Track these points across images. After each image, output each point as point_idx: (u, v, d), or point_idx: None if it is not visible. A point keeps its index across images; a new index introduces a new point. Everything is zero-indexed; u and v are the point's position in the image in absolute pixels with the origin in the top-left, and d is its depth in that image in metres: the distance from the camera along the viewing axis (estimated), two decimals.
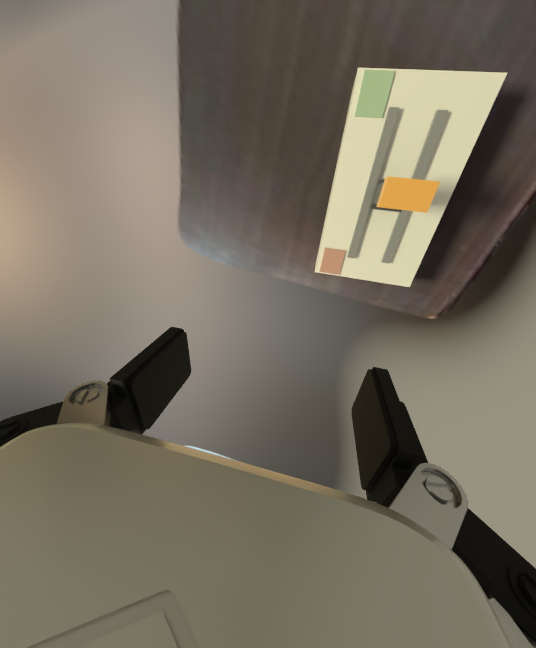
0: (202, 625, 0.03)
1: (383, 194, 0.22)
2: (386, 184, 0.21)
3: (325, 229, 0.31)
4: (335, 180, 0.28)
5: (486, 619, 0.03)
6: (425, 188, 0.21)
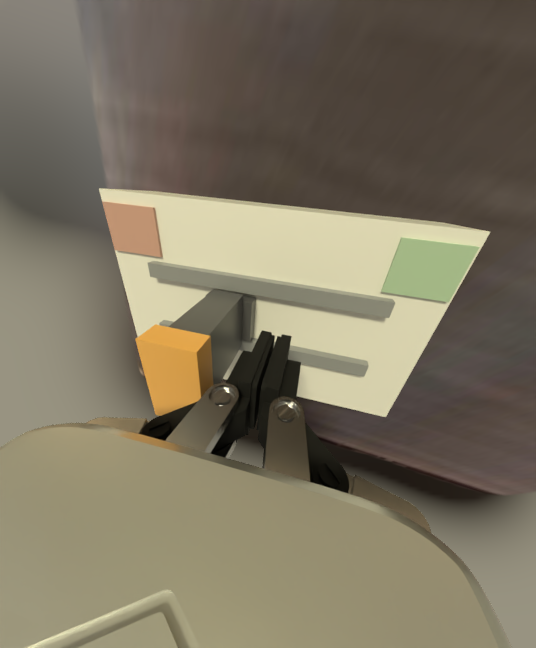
0: (203, 625, 0.03)
1: (162, 345, 0.09)
2: (182, 349, 0.08)
3: (189, 202, 0.13)
4: (287, 212, 0.12)
5: (486, 619, 0.03)
6: None
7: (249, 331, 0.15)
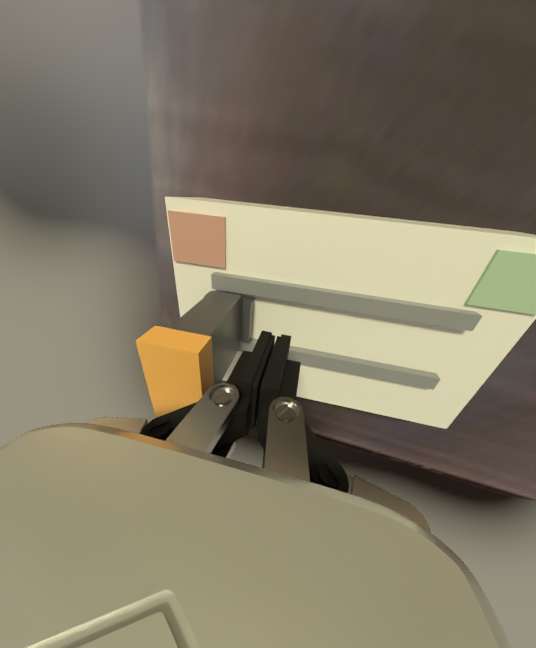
0: (203, 625, 0.03)
1: (163, 347, 0.08)
2: (183, 350, 0.08)
3: (266, 212, 0.12)
4: (374, 223, 0.12)
5: (486, 619, 0.03)
6: None
7: (248, 332, 0.15)
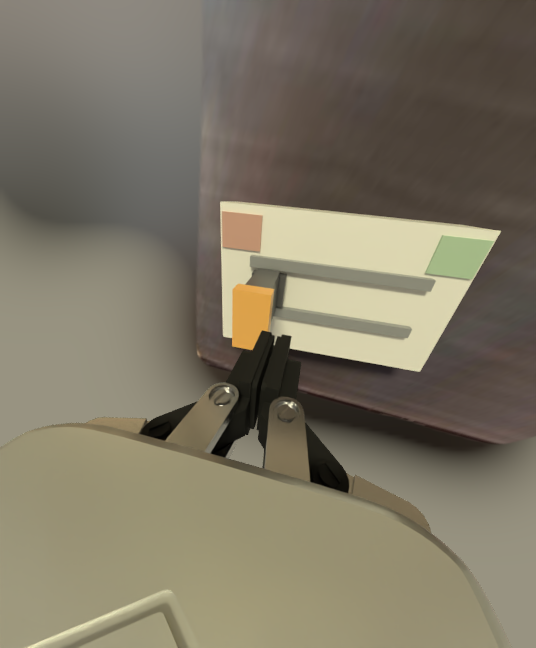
0: (202, 625, 0.03)
1: (249, 292, 0.14)
2: (261, 294, 0.14)
3: (291, 212, 0.18)
4: (363, 218, 0.18)
5: (486, 619, 0.03)
6: None
7: (282, 299, 0.21)
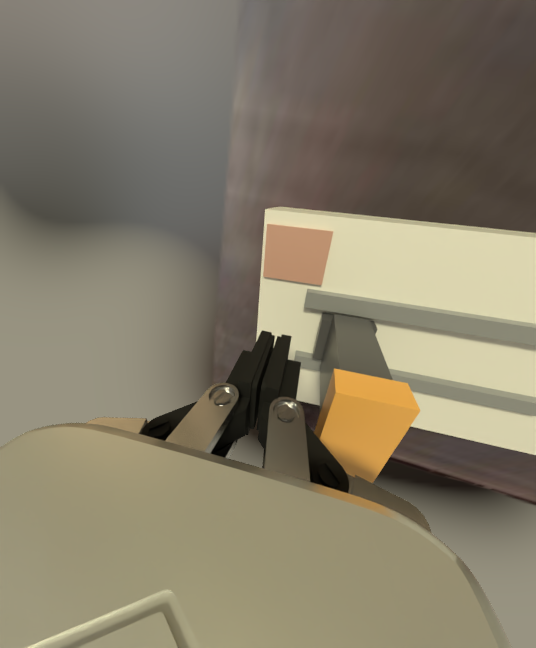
0: (203, 624, 0.03)
1: (370, 400, 0.07)
2: (397, 405, 0.07)
3: (383, 226, 0.11)
4: (514, 239, 0.10)
5: (486, 619, 0.03)
6: (363, 466, 0.09)
7: None
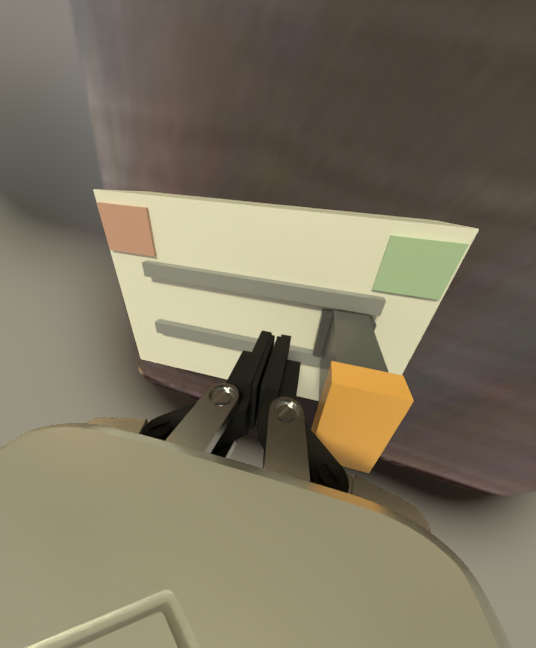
0: (203, 625, 0.03)
1: (365, 390, 0.07)
2: (391, 396, 0.07)
3: (181, 202, 0.13)
4: (277, 211, 0.12)
5: (486, 619, 0.03)
6: (360, 456, 0.09)
7: None
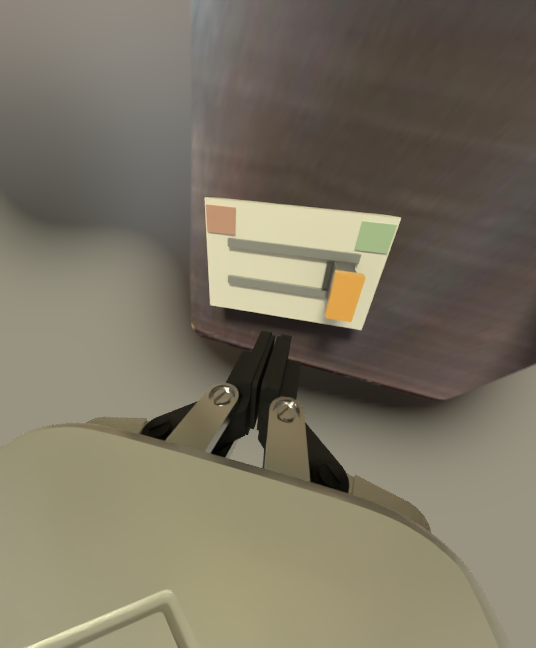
0: (203, 625, 0.03)
1: (348, 275, 0.20)
2: (357, 277, 0.20)
3: (255, 204, 0.25)
4: (306, 209, 0.24)
5: (486, 619, 0.03)
6: (347, 312, 0.21)
7: None
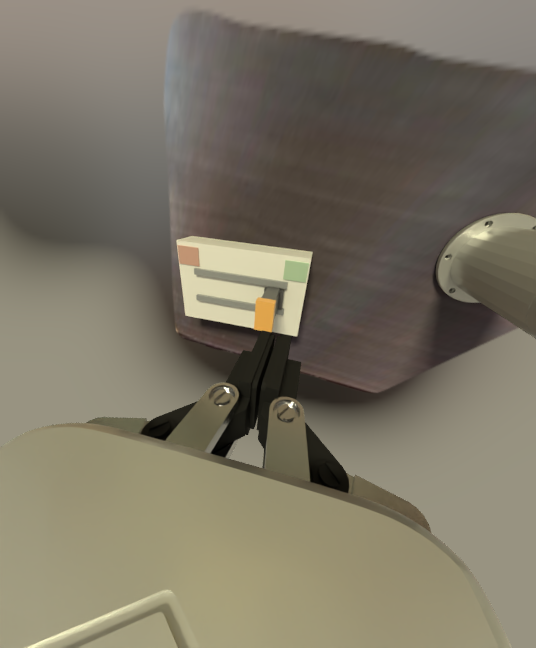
0: (203, 625, 0.03)
1: (263, 302, 0.29)
2: (270, 303, 0.29)
3: (212, 246, 0.35)
4: (247, 250, 0.34)
5: (486, 619, 0.03)
6: (267, 326, 0.31)
7: (281, 304, 0.36)
